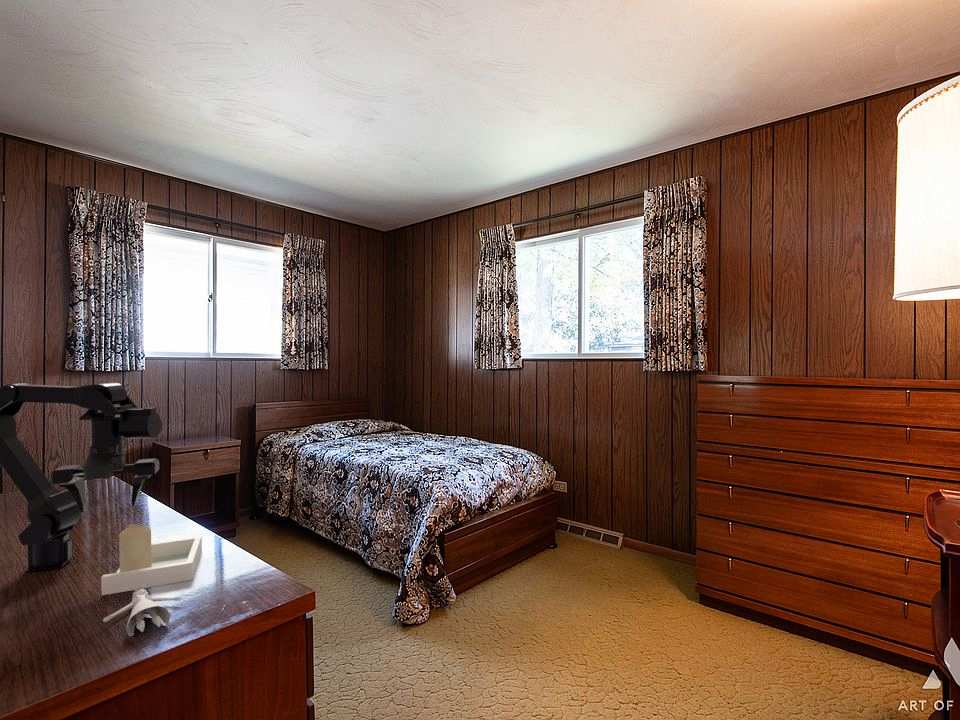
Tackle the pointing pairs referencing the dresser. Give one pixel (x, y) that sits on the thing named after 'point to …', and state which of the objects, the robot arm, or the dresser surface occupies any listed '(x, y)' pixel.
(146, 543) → the candle
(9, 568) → the dresser surface
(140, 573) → the box
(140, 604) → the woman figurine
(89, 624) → the dresser surface
